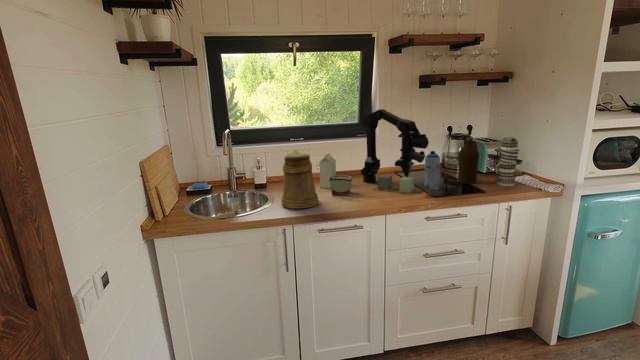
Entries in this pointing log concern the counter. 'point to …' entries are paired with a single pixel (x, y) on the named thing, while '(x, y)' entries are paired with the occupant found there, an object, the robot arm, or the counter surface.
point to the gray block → (385, 182)
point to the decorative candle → (507, 161)
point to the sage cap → (406, 184)
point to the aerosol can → (432, 171)
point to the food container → (340, 185)
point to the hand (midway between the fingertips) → (406, 176)
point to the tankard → (298, 182)
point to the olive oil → (468, 163)
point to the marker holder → (396, 190)
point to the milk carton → (327, 170)
